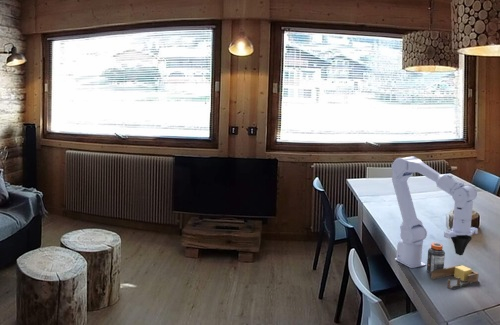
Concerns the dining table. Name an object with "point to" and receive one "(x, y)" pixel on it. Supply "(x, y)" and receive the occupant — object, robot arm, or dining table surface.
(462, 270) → the ochre block
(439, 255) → the pill bottle
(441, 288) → the dining table surface
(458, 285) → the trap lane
